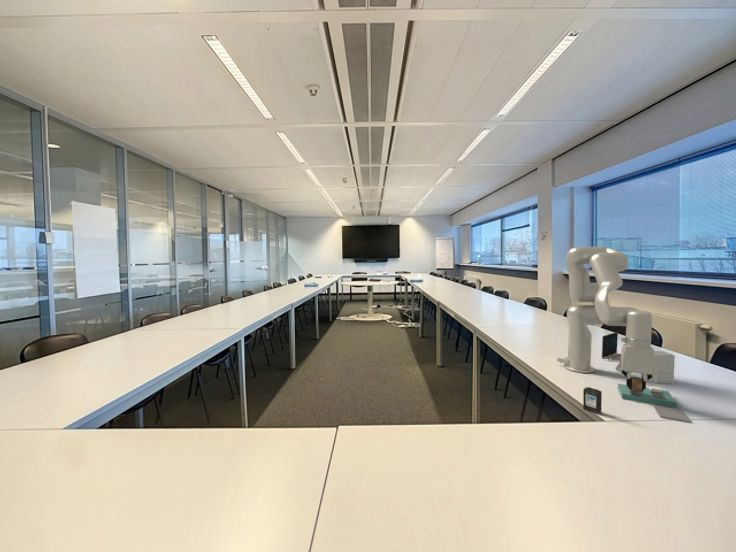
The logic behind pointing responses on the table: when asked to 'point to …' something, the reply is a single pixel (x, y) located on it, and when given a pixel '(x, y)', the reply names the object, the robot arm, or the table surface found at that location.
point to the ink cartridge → (592, 400)
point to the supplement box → (664, 367)
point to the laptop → (610, 347)
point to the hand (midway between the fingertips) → (635, 388)
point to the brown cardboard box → (636, 386)
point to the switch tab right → (655, 389)
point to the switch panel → (648, 396)
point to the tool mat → (672, 413)
